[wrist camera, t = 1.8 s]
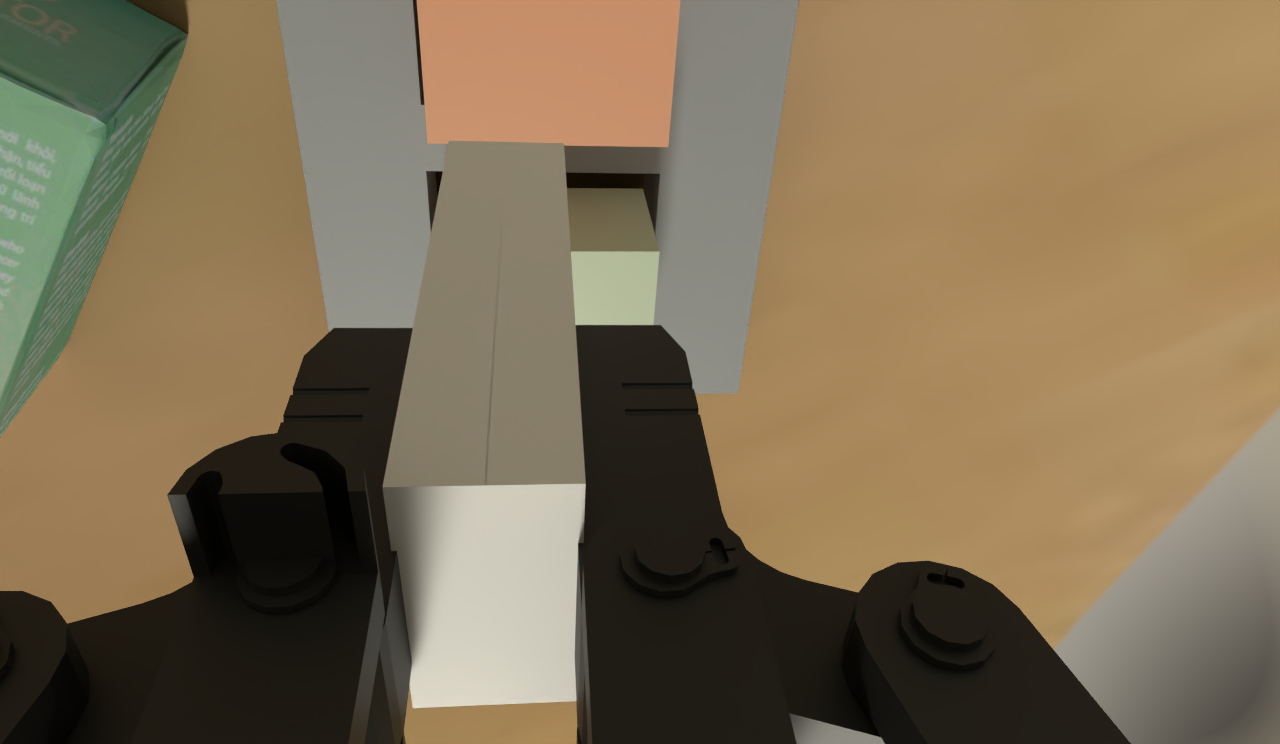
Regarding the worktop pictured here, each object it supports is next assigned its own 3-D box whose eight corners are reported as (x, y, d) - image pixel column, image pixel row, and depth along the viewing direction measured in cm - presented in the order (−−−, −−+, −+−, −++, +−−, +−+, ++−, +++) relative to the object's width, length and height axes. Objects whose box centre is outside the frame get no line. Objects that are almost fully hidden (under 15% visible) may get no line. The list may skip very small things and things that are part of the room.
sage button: (455, 351, 31) (448, 426, 28) (444, 187, 28) (435, 251, 25) (631, 349, 32) (645, 422, 29) (642, 188, 29) (659, 251, 25)
